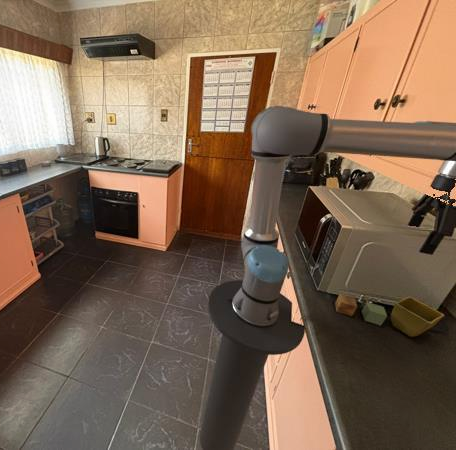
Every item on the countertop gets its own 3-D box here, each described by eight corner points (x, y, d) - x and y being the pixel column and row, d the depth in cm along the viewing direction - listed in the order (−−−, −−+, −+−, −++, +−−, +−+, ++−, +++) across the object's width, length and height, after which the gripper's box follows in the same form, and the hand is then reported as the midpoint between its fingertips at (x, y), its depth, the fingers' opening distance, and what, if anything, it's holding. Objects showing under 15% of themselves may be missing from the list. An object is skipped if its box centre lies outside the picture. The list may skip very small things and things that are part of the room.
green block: (364, 320, 83) (370, 310, 81) (361, 311, 87) (367, 302, 85) (381, 325, 81) (387, 316, 79) (377, 316, 85) (383, 306, 83)
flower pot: (396, 315, 86) (409, 295, 81) (429, 335, 78) (445, 314, 74) (382, 323, 82) (394, 303, 78) (415, 344, 75) (430, 323, 71)
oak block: (336, 311, 86) (341, 302, 84) (335, 303, 90) (339, 293, 88) (351, 316, 84) (357, 306, 82) (349, 307, 88) (354, 298, 86)
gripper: (506, 192, 56) (452, 267, 66) (452, 168, 76) (417, 229, 86) (461, 186, 59) (416, 259, 69) (420, 165, 79) (389, 224, 89)
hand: (416, 242), depth 77 cm, fingers open, 13 cm apart
